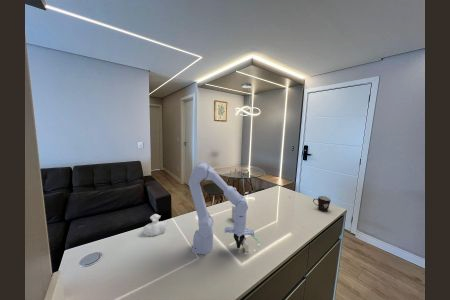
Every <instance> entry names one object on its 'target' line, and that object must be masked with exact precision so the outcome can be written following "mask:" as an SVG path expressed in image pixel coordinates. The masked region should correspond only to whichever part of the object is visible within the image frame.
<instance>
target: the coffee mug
mask: <svg viewBox="0 0 450 300" xmlns="http://www.w3.org/2000/svg"><path fill="white" fill-rule="evenodd" d="M312 200H313V201H312V202H313V203H315V201H316V200H317V203H315V206H317V209H318V210H319V212H322V213H327V212H328V211H329V208H330V205H331V201H332V199H331V198H330V197H329V196H326V195H318V196H317V198H313V199H312Z"/></svg>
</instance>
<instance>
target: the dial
mask: <svg viewBox="0 0 450 300" xmlns="http://www.w3.org/2000/svg"><path fill="white" fill-rule="evenodd" d="M252 237H253V238H255V241H256V242H257V247H261V246H260V240H259V238H258V237H257V236H256V235H255V234H254V236H252ZM257 251H258V250H257V249H253V250H252V252H253V253H256V252H257ZM243 255H249V251H248V252H245V251H244V252H243Z"/></svg>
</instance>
